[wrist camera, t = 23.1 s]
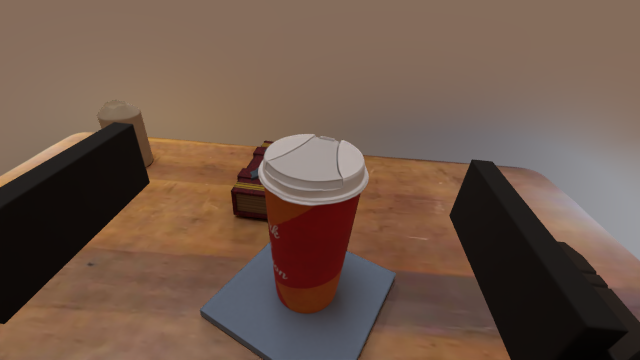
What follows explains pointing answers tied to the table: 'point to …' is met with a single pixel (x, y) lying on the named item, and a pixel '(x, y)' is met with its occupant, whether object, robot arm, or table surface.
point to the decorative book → (251, 188)
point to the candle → (130, 115)
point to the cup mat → (300, 328)
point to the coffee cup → (310, 214)
